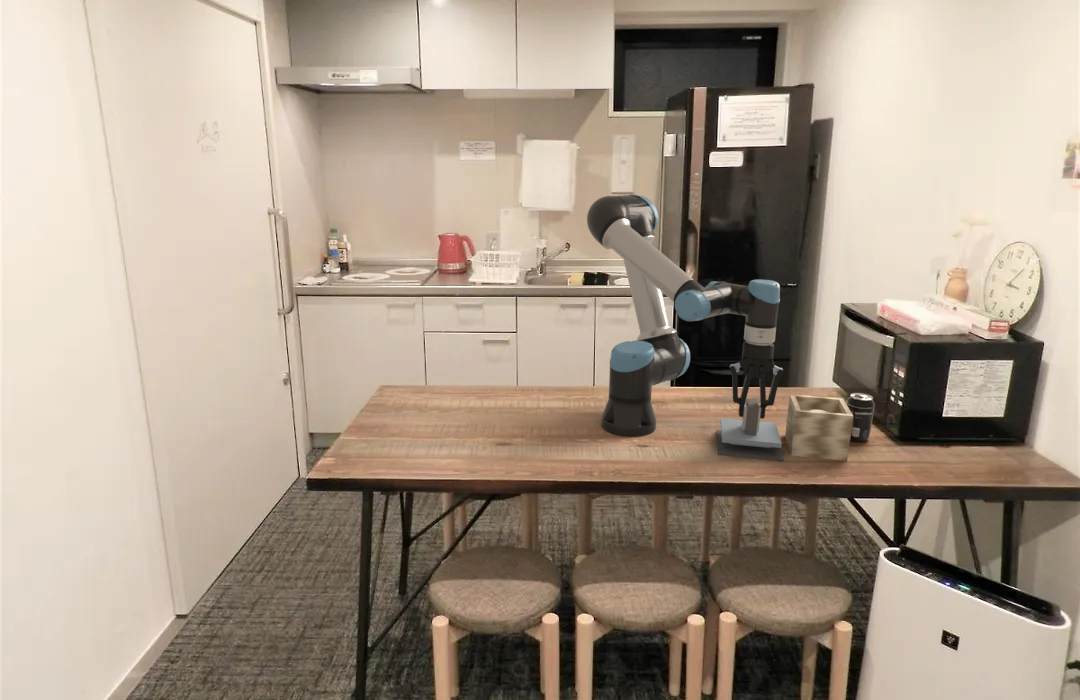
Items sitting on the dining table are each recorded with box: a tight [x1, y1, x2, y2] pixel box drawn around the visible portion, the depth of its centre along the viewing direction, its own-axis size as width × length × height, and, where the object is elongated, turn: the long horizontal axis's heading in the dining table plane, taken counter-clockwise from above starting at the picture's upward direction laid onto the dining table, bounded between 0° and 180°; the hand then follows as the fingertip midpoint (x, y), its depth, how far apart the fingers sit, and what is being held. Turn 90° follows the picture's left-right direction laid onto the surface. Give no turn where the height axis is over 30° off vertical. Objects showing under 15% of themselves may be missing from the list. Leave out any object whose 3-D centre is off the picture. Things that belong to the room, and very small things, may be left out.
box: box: [784, 393, 853, 462], centre depth 185 cm, size 13×13×12 cm
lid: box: [719, 398, 783, 449], centre depth 185 cm, size 14×14×10 cm
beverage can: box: [846, 392, 875, 442], centre depth 192 cm, size 7×7×12 cm
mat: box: [715, 429, 785, 462], centre depth 187 cm, size 16×16×1 cm
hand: (750, 428), depth 186 cm, fingers open, 3 cm apart
